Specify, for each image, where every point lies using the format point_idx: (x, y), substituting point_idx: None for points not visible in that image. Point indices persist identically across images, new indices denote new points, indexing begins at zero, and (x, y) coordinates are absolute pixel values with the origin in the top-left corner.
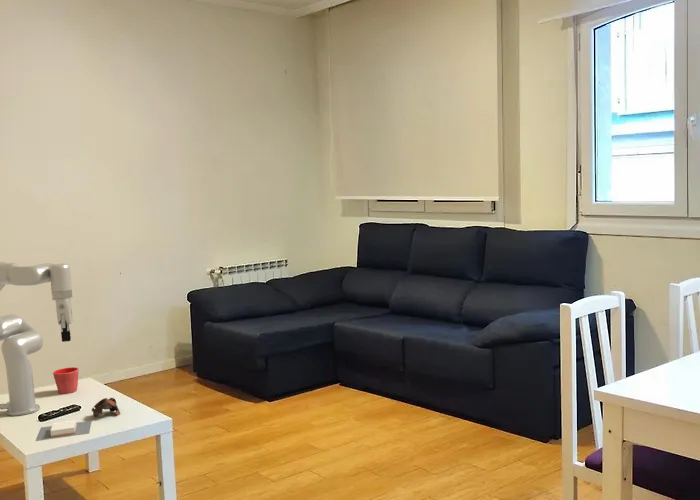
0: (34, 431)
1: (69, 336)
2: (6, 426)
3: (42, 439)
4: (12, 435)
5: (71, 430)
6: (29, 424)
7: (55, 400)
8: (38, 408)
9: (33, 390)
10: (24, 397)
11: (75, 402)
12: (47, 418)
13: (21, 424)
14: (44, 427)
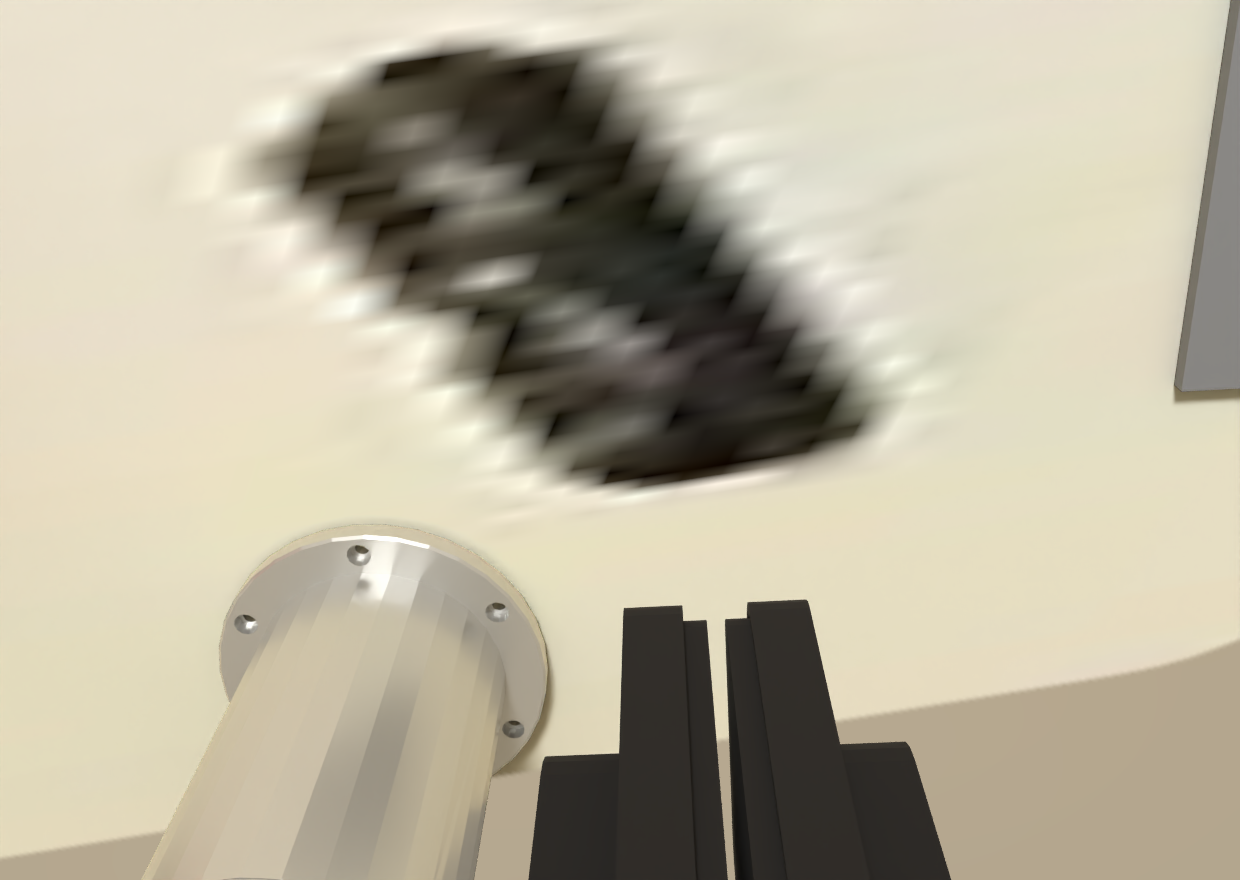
0: (1219, 435)
1: (835, 744)
2: (873, 707)
3: None
4: (1224, 607)
5: None
6: (920, 524)
7: (32, 417)
8: (410, 536)
9: (343, 696)
10: (474, 735)
11: (186, 163)
12: (779, 385)
13: (877, 596)
14: (1205, 354)
